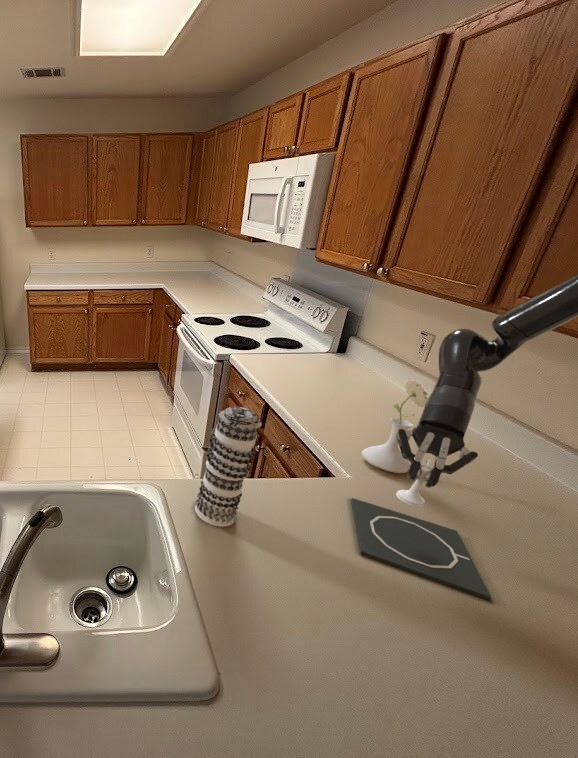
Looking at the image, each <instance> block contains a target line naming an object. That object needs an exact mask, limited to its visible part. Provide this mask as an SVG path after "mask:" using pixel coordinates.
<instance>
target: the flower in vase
mask: <svg viewBox="0 0 578 758" xmlns="http://www.w3.org/2000/svg"><path fill="white" fill-rule="evenodd" d="M404 389H405V393H406V394H407V396H408V397H407V398H405V399H404V401H402V403H401V405H399V404H398V403H395V404H393V406H392V407H393V408H394V409H396V411H397V412H398V413H399V417H391V418H390V421H391V432H390V436H389V438H388V440H387V441H386V442H385V443H383V444H378V445H372V446H369V447H365V448H364V449H363V450H362V451H361V455H362V458H363V459H364V460H365V461H366V462H368V464H370V465H372V466H373V467H376V468H378V469H379V470H383V471H385V472H388V473H389V472H390V473H394V474H405V473H408V470H409V468H410V465H411V463H410V461H409V460H407V459H404V458H403V457H402V454H401V450H400V448H399V443H398V440H397V437H396V434H397V432H398V430H399V429H404V430H405V431H408V430H409V429H410V428H412V427H413V426H414V424H413V423H412V422H410V421H408V420H406V419H403V418H408V417H412V416H415V414H402V407H403V406H404V404H406V402H407V401H408V400H409V399H410V400H411V402H413V403H414V404H415V405H417V406H418V407H421V408H425V404H426V402H427V400H428V398H429V397H428V392H427V391H425V389H424V387H422V384H421V383H420V382H418V383H417V382H416V380H414V379H411V380H410V379H407V380H405V383H404ZM413 428H414V427H413Z"/></svg>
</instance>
